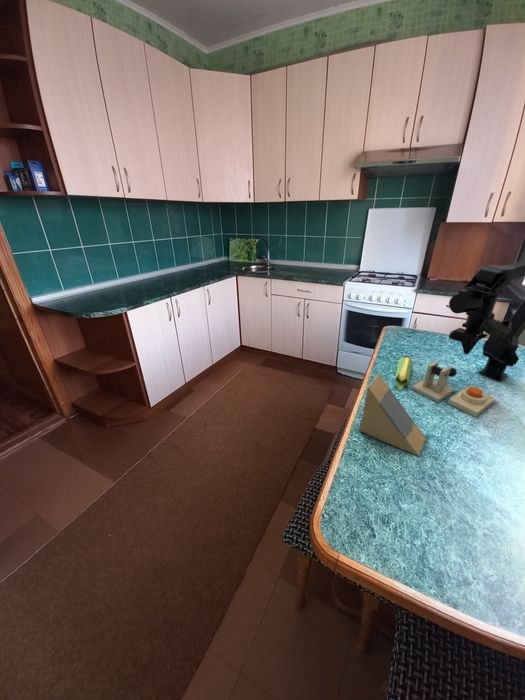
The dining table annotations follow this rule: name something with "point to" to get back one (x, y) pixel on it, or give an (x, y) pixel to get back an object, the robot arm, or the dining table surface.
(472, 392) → the button
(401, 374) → the edible corn
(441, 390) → the lever stand
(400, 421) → the sandwich container
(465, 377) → the dining table surface
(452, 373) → the black lever handle
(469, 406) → the control block
